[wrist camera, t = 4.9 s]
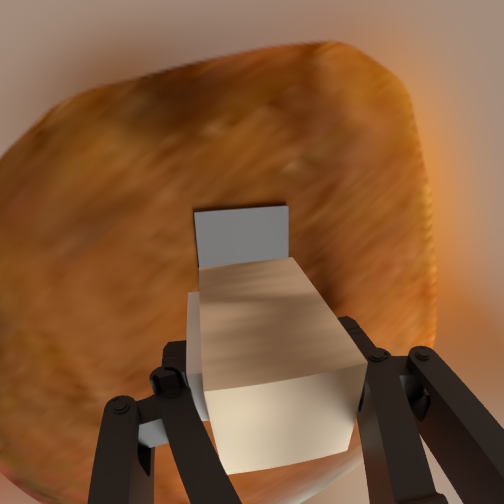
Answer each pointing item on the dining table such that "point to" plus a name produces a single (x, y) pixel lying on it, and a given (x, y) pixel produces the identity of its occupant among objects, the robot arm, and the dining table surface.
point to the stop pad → (241, 235)
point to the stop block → (275, 366)
